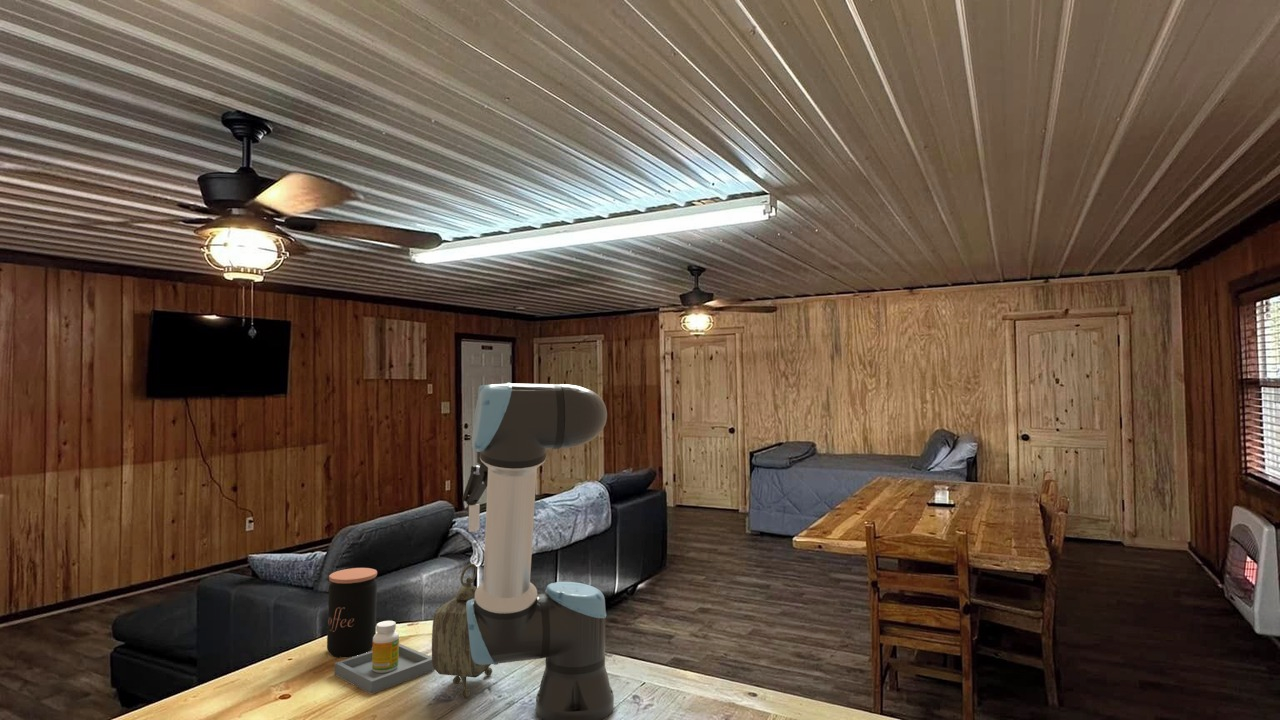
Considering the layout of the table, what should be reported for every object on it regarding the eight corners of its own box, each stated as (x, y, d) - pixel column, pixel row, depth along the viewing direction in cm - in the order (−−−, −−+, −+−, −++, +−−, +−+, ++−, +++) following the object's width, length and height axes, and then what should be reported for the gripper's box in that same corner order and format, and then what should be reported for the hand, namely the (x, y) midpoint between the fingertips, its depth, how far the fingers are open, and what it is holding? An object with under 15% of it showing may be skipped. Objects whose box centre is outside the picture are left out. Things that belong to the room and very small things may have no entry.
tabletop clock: (469, 703, 130) (471, 574, 131) (427, 698, 131) (430, 572, 133) (499, 672, 144) (501, 557, 145) (461, 669, 146) (463, 555, 147)
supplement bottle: (395, 672, 142) (396, 627, 142) (369, 674, 141) (370, 628, 141) (400, 662, 147) (401, 618, 147) (375, 664, 146) (376, 620, 147)
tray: (434, 670, 145) (435, 658, 145) (371, 694, 133) (371, 681, 133) (396, 653, 154) (397, 642, 154) (334, 674, 142) (334, 662, 143)
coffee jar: (317, 652, 155) (319, 574, 156) (359, 638, 164) (361, 565, 165) (342, 662, 149) (345, 582, 150) (384, 647, 158) (386, 572, 159)
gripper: (539, 449, 157) (537, 539, 156) (473, 444, 172) (471, 525, 171) (515, 451, 151) (513, 544, 150) (449, 445, 166) (447, 530, 165)
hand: (491, 534), depth 160 cm, fingers open, 13 cm apart
